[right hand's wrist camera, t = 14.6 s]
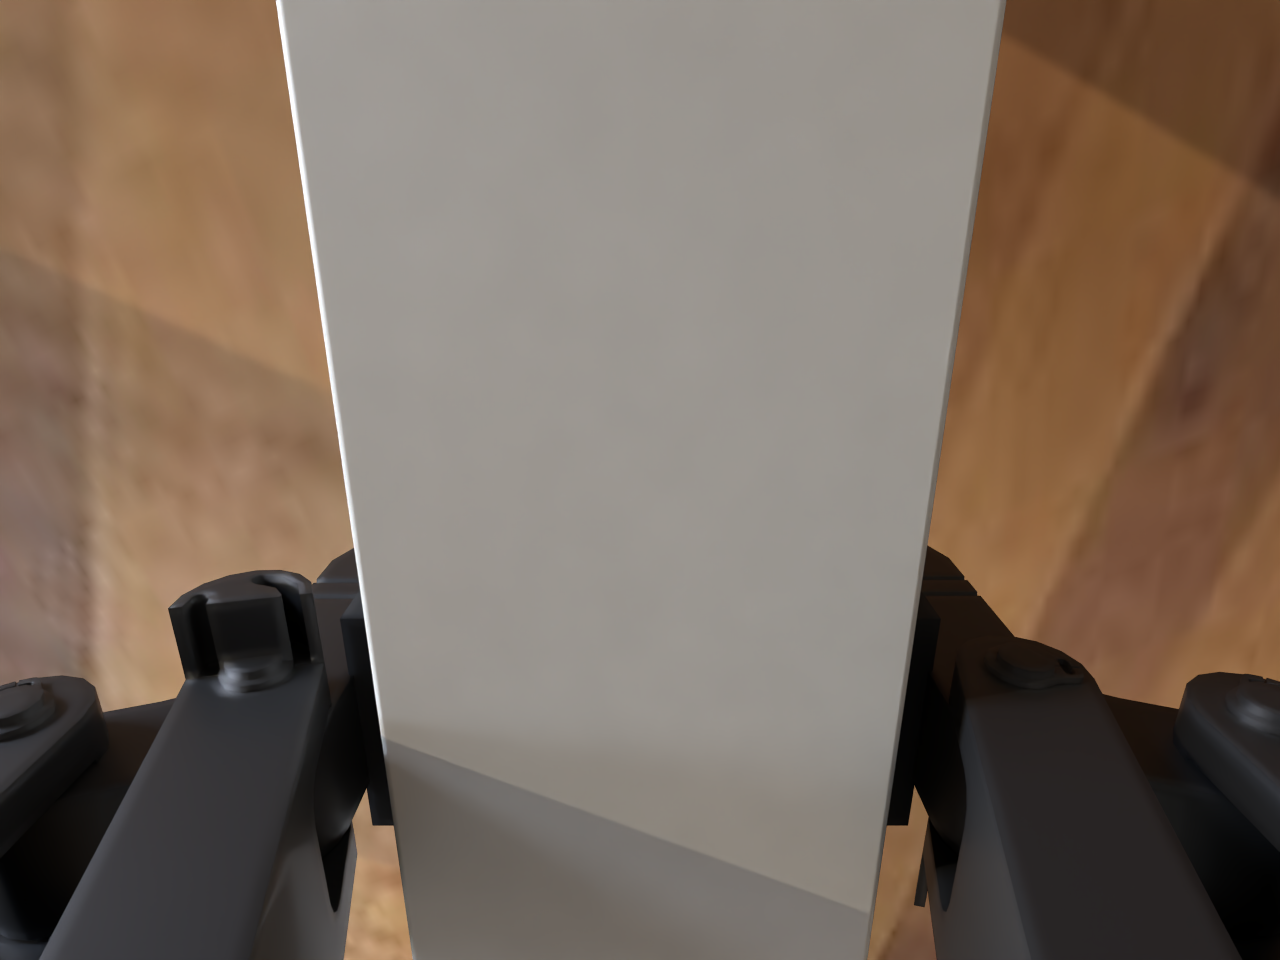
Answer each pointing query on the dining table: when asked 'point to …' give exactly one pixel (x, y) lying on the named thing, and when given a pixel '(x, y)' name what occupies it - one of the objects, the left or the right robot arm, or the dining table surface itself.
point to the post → (640, 442)
